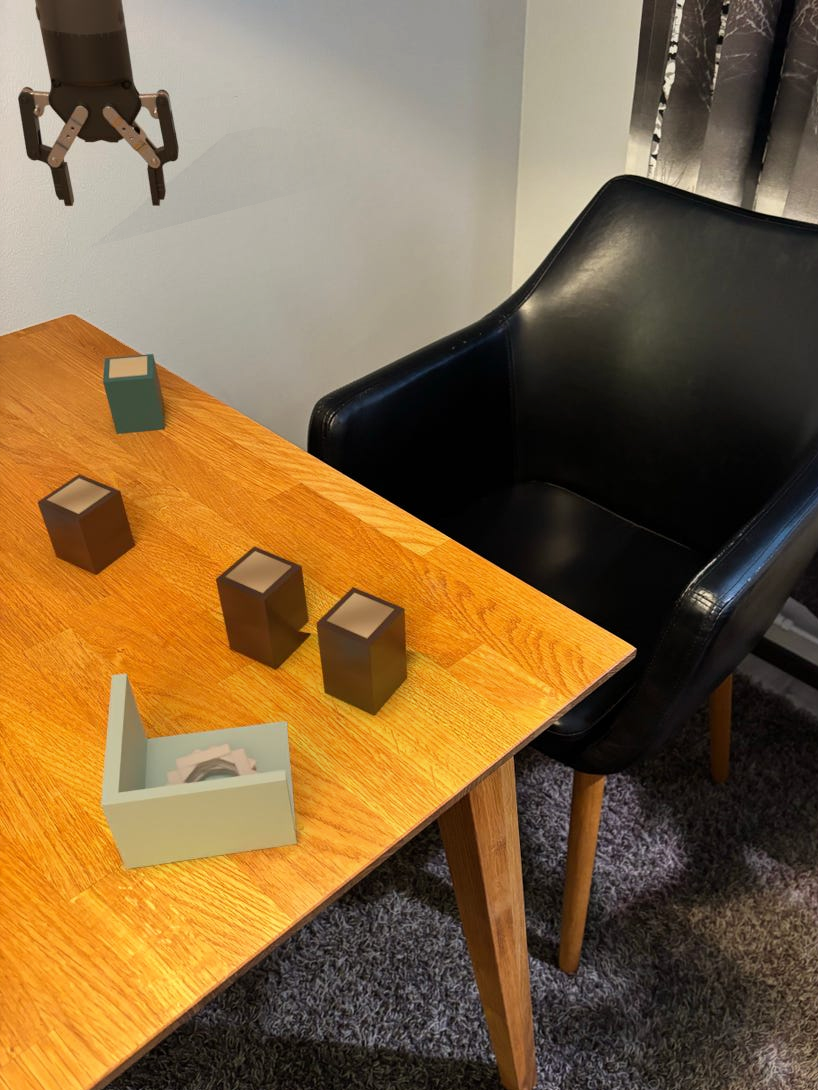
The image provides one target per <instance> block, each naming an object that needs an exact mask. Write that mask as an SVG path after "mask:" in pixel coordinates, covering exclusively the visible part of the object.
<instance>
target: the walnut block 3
mask: <svg viewBox="0 0 818 1090" xmlns="http://www.w3.org/2000/svg"><path fill="white" fill-rule="evenodd" d="M315 624H316V633H317V640H318V649H319V656H320V658H319V659H320V665H321V674H322V682H323V691H324V694H327V695H329V696H331V697H334V698H335V699H337V700H340V701H342V702H344V703H346V704H349V705H350V706H353V707H355V708H357V709H360V710H361V711H363V712H366V713H368V714H370V715H372V716H375V715H376V714H378V712H379V711H380V710H381V708H382V707H383V706H384V705H385V704H386V703H387V702H388V700H389V699H390V698H391V697H392V696H393V695H394V694H395V692H396V691H397V690H398V689H399V688H400V687H401V685H402V684H403V683H404V682H405V681H406V680H407V678H408V665H407V663H408V662H407V639H406V637H407V636H406V633H407V632H406V610H405V608H404V607H402V606H400V605H398V604H395V603H392V602H391V601H388V600H385V599H383V598H380V597H378V596H376V595H373V594H371V593H368V592H366V591H364V590H362V589H358V588H356V587H354V586H352V587H351V589H349V590H348V591H347V592H346V593H345V594H344V595H343V596H342V597H341V598H340V599H339V600H338V601H337V602H335V604H334V605H333V606H331V608H330V609H329V610H328V611H326V613H325V614H324V615H323V616H321V618H320V619H318V621H317V622H316V623H315Z"/></svg>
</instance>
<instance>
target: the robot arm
mask: <svg viewBox="0 0 818 1090" xmlns="http://www.w3.org/2000/svg"><path fill="white" fill-rule="evenodd" d="M34 2H35V14H36V18H37V21H38V23H39V28H40V33H41V39H42V44H43V49H44V54H45V59H46V65H47V70H48V75H49V80H50V90H49V91H41V90H34V89H33V88H32V87H30V86H25V87H22V88H21V90H20V93H19V94H18V97H17V100H18V107H19V114H20V121H21V127H22V132H23V139H24V146H25V152H26V156H27V158H28V159H29V160H31V161H34V162H35V161H39V162H42V163H44V164H46V165H47V166H48V167H49V169H50V172H51V178H52V182H53V188H54V192H55V196H56V197H57V199H58V200H59V201H63V203H64V207H73V206H74V203H75V197H74V191H73V186H72V180H71V176H70V170H69V165H68V162H67V161H65V157H66V155H67V153H68V151H69V150H70V148H71V147H72V145H73V143H74V142H75V140H76V138H78V139H80V140H82V141H84V143H96V142H98V141H99V142H100V141H103V142H107V143H111V144H113V143H114V144H117V143H119V141H122V140H125V141H126V143H127V144H128V145H129V146H130V147H131V148H132V149H133V150H134V151H135V152H137V153H138V154H139V156H141V158H142V159H143V160H144V161H145V162H146V163H147V168H146V171H147V177H148V178H147V179H148V183H149V191H150V196H151V197H150V198H151V199H150V200H151V204H152V206H153V207H159V206H160V205H161V201H164V200H165V198H166V191H167V189H166V182H165V175H164V168H163V167H164V165H165V164H167V163H169V162H176V161H177V160H178V158H179V149H180V148H179V142H178V136H177V132H176V126H175V121H174V115H173V110H172V104H171V98H170V94H169V92H168V91H167V90H165V89H159V90H158V91H156V92H155V93H154V92H153V93H140V91H138V89H137V87H136V85H135V82H134V73H133V68H132V61H131V54H130V48H129V47H130V46H129V41H128V32H127V27H126V20H125V11H124V6H123V0H34ZM47 106H49V107H50V108H51V109H52V110H53V111H54V113H55V114H56V115H57V116H58V117H59V118H60V120H61V121H62V122H63V123H64V125H63V127H62V128H61V130H60V132H59V134H58V137H56V140H55V142H54V144H53V145H52V146H49V145H47V144H43V139H42V133H41V132H42V131H41V125H40V119H39V118H40V117H42V116H43V115H44V113H45V109H46V107H47ZM142 108H145V109H147V111H148V112H149V115H150V116H151V117H152V118H153V119H155V120H158V122H159V128H160V132H161V138H162V143H163V145H161V146H159V147H157V146H156V145H155V144H154V143H153V142H152V140H151V139H150V138H149V137H148V135H147V133H146V131H144V129H143V128H142V127H141V126H140V125H139V123H137V121H136V119H137V117H138V115H139V114H140V111H141V109H142Z"/></svg>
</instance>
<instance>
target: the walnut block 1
mask: <svg viewBox="0 0 818 1090" xmlns="http://www.w3.org/2000/svg"><path fill="white" fill-rule="evenodd" d="M37 505H38V508H39V511H40V514H41V517H42V520H43V523H44V525H45V529H46V531H47V535H48V537H49V541H50V543H51V545H52V548H53V549H52V550H54V555H55V557H56V558H58V559H60V560H62V561H64V562H66V563H69V564H70V565H73V566H75V567H77V568H79V569H82V570H83V571H86V572H88V573H90V574H92V575H95V576H98V575H99V574H100V573H102V572H103V571H104V570H106V569H107V568H108V567H110V566H111V565H112V564H113V563H115V562H116V561H117V560H119V559H120V558H121V557H123V556H124V555H126V553H128V552H129V551H130V550H132V549H133V548H134V547H135V546H136V543H135V540H134V536H133V532H132V529H131V525H130V521H129V518H128V514H127V510H126V507H125V503H124V499H123V496H122V492H121V490H119V489H117V488H114V487H111V486H110V485H107V484H105V483H102V482H99V481H97V480H95V479H93V478H90V477H87V476H85V475H83V474H80V473H79V474H77V475H76V476H74V477H73V478H71V479H69V480H68V481H67V482H65V483H64V484H62V485H61V486H59V487H57V488H56V489H55V490H53V491H52V492H50V493H49V494H47V495H46V496H44V497H43V498H41V499H39V500H38V501H37Z"/></svg>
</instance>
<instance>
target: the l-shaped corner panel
mask: <svg viewBox="0 0 818 1090" xmlns="http://www.w3.org/2000/svg"><path fill="white" fill-rule="evenodd" d="M109 692H110V694H109V705H108V718H107V730H106V740H105V750H104V751H105V753H104V764H103V777H102V786H101V787H102V789H101V799H100V807H101V810H102V812H103V815H104V817H105V820H106V823H107V825H108V827H109V830H110V833H111V835H112V838H113V840H114V842H115V845H116V849H117V851H118V853H119V855H120V858H121V861H122V863H123V865H124V868H125V870H131V869H136V868H144V867H150V866H158V865H163V864H170V863H177V862H184V861H191V860H197V859H205V858H211V857H217V856H223V855H224V856H225V855H231V854H237V853H245V852H250V851H258V850H265V849H271V848H277V847H284V846H291V845H298V840H297V828H296V815H295V803H294V791H293V778H292V766H291V755H290V744H289V743H290V742H289V741H290V740H289V732H288V730H289V729H288V721H287V720H282V721H275V722H267V723H260V724H259V723H258V724H253V725H252V724H251V725H245V726H236V727H229V728H220V729H213V730H205V731H197V732H189V733H181V734H174V735H167V736H158V737H151V738H148V736H147V734H146V729H145V727H144V723H143V721H142V718H141V715H140V710H139V708H138V705H137V701H136V699H135V698H136V697H135V695H134V692H133V689H132V685H131V682H130V679H129V675H128V673H118V674H117V673H116V674H111V683H110V691H109Z"/></svg>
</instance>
